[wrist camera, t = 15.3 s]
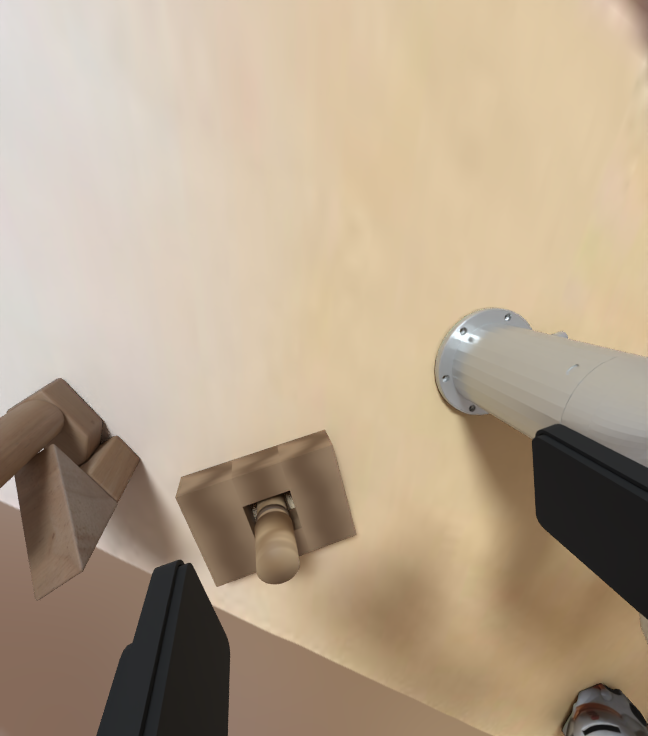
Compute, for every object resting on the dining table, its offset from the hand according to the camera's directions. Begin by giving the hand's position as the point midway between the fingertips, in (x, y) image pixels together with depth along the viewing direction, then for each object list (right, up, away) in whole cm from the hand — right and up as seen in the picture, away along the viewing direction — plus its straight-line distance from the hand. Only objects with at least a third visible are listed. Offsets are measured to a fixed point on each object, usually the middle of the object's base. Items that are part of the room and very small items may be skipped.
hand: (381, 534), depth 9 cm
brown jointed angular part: (-24, -2, +25) cm, 35 cm away
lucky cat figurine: (+47, -60, +59) cm, 97 cm away
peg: (-8, -10, +32) cm, 34 cm away
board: (-8, -10, +32) cm, 34 cm away
